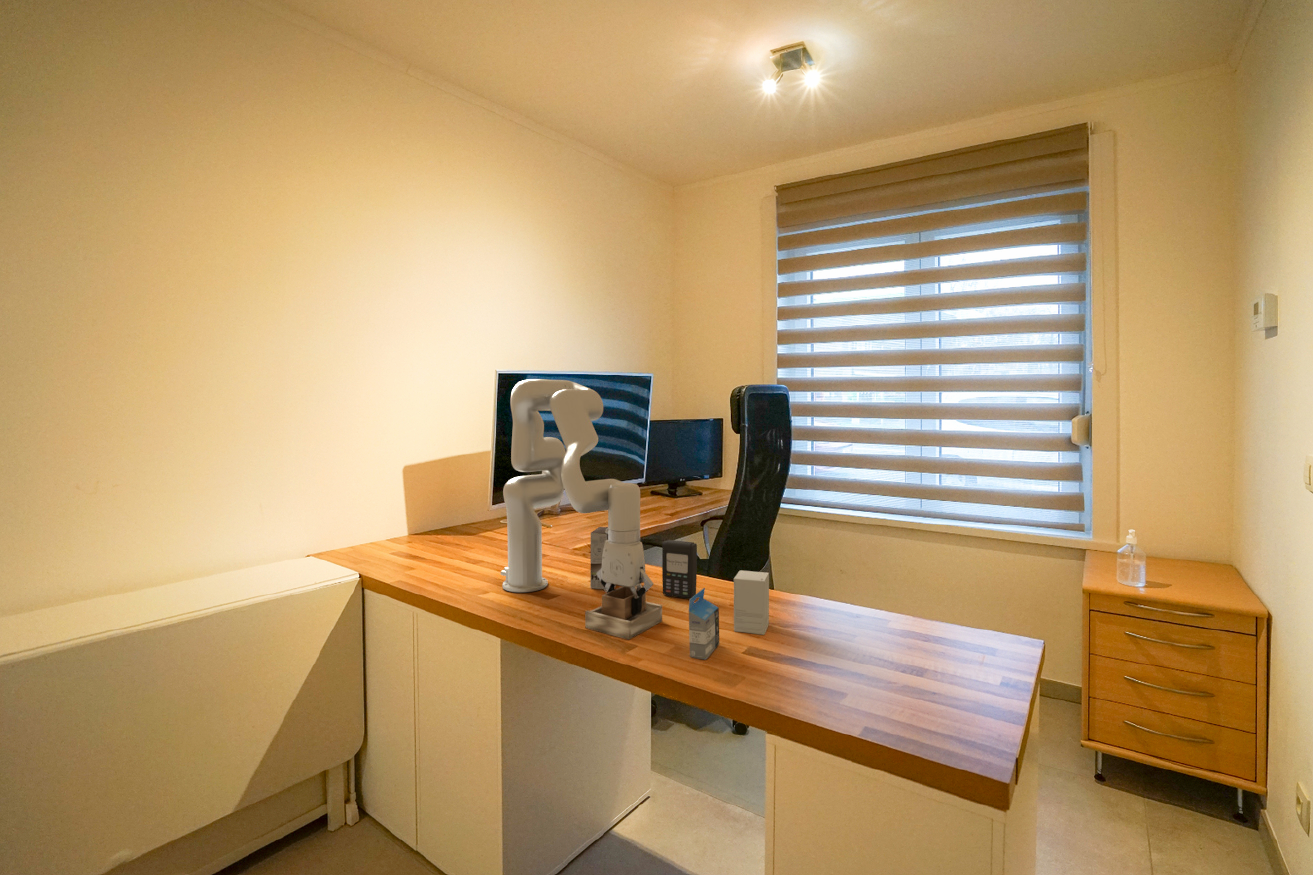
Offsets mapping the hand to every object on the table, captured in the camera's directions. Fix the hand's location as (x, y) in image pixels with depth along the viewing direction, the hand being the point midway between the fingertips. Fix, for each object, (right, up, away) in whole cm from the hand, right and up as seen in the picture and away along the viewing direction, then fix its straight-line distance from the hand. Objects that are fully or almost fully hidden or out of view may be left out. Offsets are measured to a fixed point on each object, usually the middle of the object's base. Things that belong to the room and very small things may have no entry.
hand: (624, 609), depth 143 cm
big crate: (0, -4, 0) cm, 4 cm away
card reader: (+14, -3, +21) cm, 25 cm away
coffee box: (-7, -2, +31) cm, 32 cm away
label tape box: (+18, -5, -15) cm, 24 cm away
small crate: (0, -1, 0) cm, 1 cm away
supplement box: (+30, -4, -2) cm, 30 cm away
